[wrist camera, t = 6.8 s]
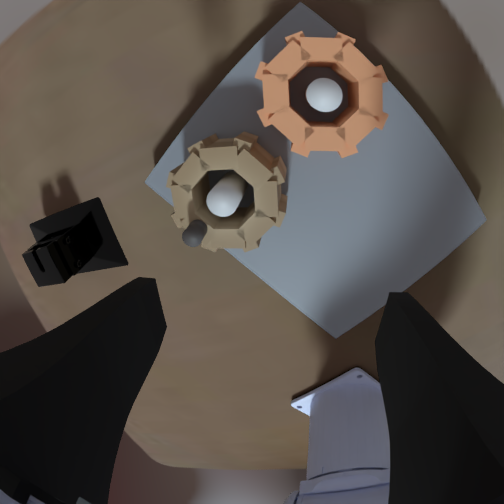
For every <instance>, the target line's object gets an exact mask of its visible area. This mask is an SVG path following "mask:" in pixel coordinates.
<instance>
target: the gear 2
mask: <svg viewBox="0 0 504 504" xmlns="http://www.w3.org/2000/svg"><path fill="white" fill-rule="evenodd" d="M355 40H356V39H353V38H351V37H349V36H347V35H344V34H342V33H339V32H338V33H337V34H336V36H335V38H321V37H305V35H304V33H303V32H302V31H300V32H298V33H295V34H292V35H290V36H287V37H285V41H286V45H287V46H286V47H285V48H284V49H283V50H282V51H281V52H280V53H279V54H278V55H277V56H276V57H275V58H274V59H273V60H272V61H271V62H270V63H269V64H268V63H265V62H260V64H259V67H258V69H257V72H256V75H255V77H254V78H256V79H259V80H261V81H262V83H263V99H264V108H263V109H260V110H258V111H257V113H258V115H259V117H260V119H261V121H262V123H263V125H264V127H267V126H269V125H271V124H272V125H274V126H275V127H276V128H277V129H278V130H279V131H280V132H281V133H282V134H284V135H285V136H286V137H287V138H288V139H289V140H290V141H291V150H290V151H292V152H295V153H297V154H300V155H302V156H305V157H307V158H308V155H309V153H310V151H337V152H338V154H339V155H340V157H341V158H344V157H347V156H350V155H352V154H355V153H358V150H357V148H356V145H357V144H358V143H359V142H360V141H361V140H362V139H363V138H364V137H366V136H367V135H368V134H369V133H370V132H371V131H372V130H373V129H374V128H375V127H376V128H378V129H380V130H382V129H383V127H384V125H385V122H386V120H387V118H388V116H389V114H387V113H385V112H383V89H382V83H385V82H388V79H387V76H386V74H385V72H384V70H383V67H382V65H379V66H374V65H373V64H372V63H371V62H370V61H369V60H368V59H367V58H366V57H365V56H364V55H363V54H362V53H361V52H360V51H359V50H358V49H357V48H356V47H355V46H353V45H354V43H355ZM305 67H330V68H331V69H332V70H333V71H334V72H336V73H337V74H338V75H339V76H340V77H341V78H342V79H343V80H344V81H345V82H346V83H347V86H348V107H347V108H346V109H345V110H344V111H343V112H342V113H341V114H340V115H338V116H337V117H336V118H335V119H334V120H333V121H332V122H315V121H307V120H306V119H305V118H304V117H303V116H302V115H301V114H300V113H299V112H298V111H296V110H295V109H294V108H293V107H292V106H291V102H290V82H291V81H292V80H293V79H294V78H295V77H296V76H297V75H298V74H299V73H300V72H301V71H302V70H303V69H304V68H305Z"/></svg>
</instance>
